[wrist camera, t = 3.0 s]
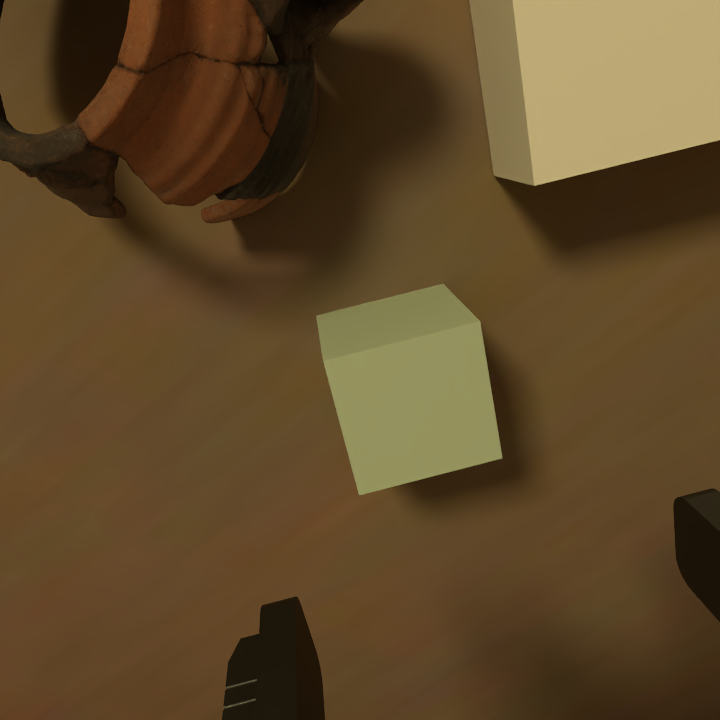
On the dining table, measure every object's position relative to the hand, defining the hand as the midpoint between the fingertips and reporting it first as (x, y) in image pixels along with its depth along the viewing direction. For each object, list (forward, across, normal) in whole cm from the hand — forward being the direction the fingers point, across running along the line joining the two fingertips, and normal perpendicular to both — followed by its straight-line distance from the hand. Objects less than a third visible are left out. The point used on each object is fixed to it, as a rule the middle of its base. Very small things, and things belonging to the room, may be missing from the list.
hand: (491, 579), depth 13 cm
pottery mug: (+13, +4, -12) cm, 18 cm away
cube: (+13, 0, 0) cm, 13 cm away
